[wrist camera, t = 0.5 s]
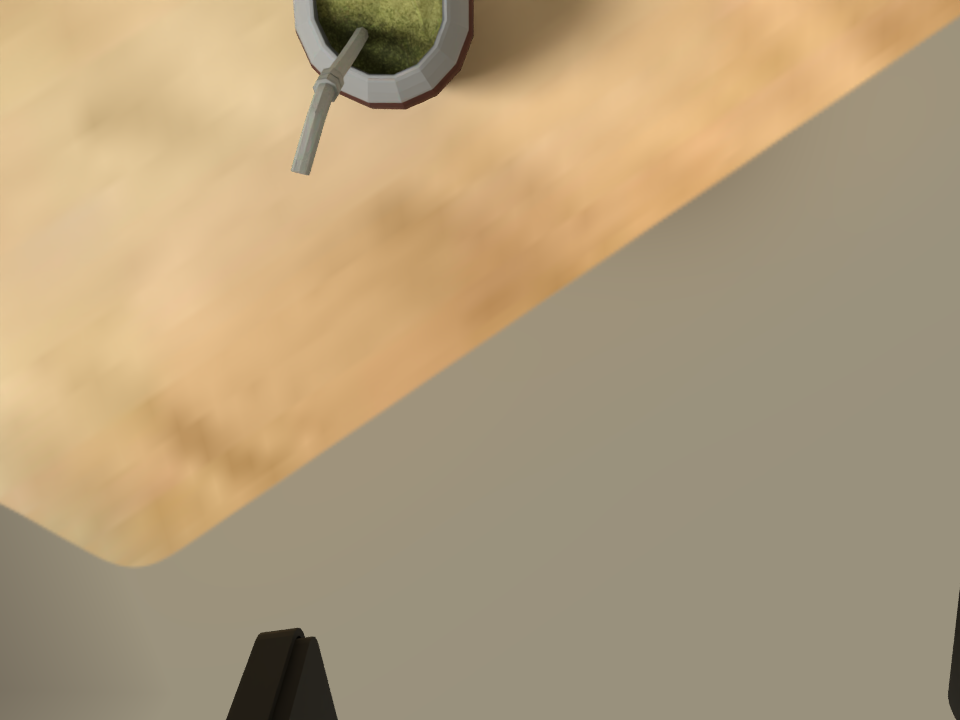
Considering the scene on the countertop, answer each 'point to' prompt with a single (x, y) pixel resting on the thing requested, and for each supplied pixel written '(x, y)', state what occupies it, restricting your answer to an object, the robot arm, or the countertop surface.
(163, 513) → the countertop surface
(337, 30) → the mate gourd
